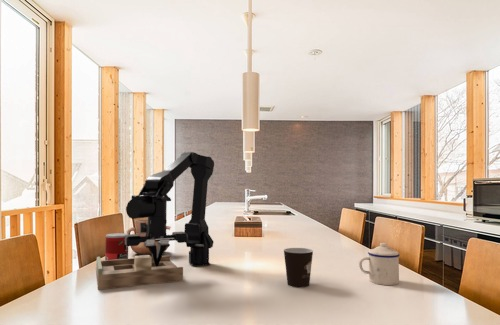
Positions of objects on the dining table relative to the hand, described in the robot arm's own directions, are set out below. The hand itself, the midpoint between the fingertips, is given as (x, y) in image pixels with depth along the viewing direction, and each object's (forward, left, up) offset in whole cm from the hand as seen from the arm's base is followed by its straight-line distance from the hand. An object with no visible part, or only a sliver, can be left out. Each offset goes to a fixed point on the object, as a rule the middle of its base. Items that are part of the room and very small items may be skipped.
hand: (156, 266), depth 115 cm
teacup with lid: (-62, +30, -4) cm, 69 cm away
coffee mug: (-39, +23, -4) cm, 45 cm away
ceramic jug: (-4, -41, -4) cm, 42 cm away
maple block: (+4, 0, -1) cm, 4 cm away
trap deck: (+5, -4, -4) cm, 7 cm away
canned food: (+10, -24, -4) cm, 26 cm away
